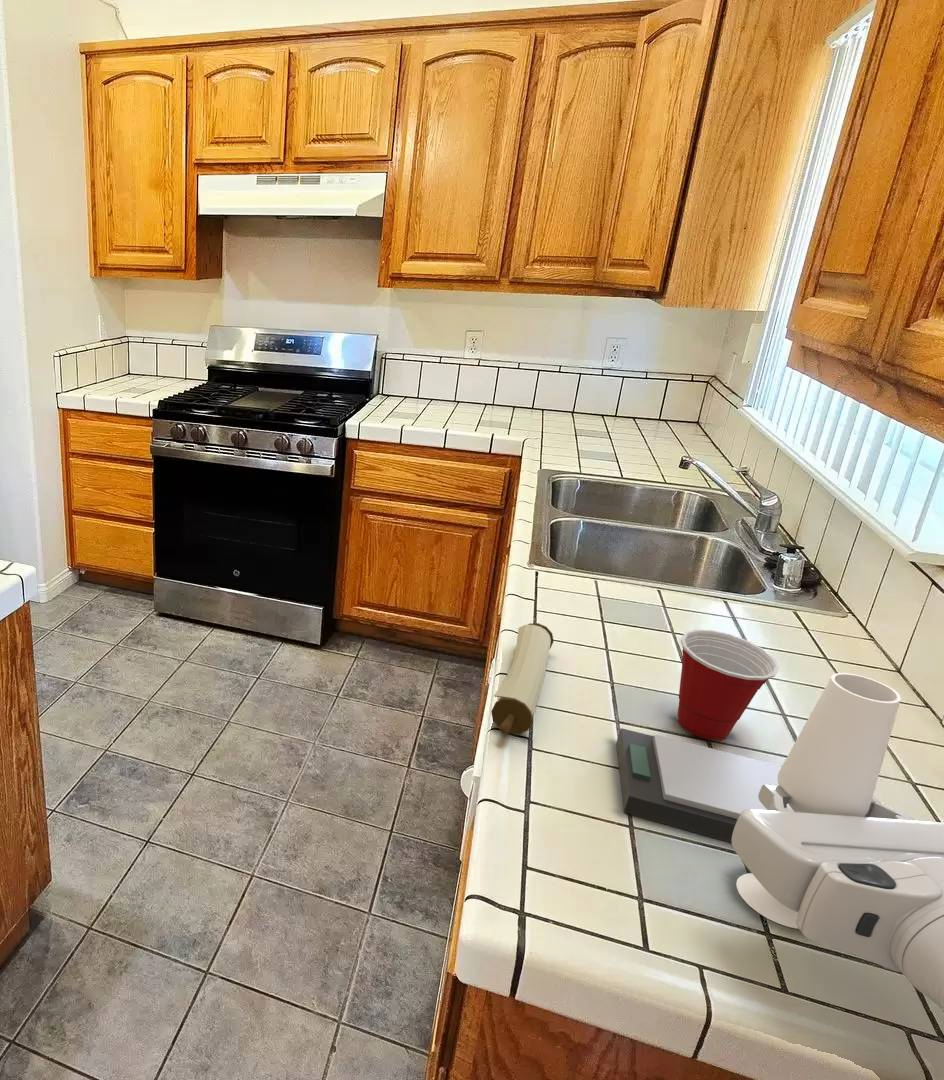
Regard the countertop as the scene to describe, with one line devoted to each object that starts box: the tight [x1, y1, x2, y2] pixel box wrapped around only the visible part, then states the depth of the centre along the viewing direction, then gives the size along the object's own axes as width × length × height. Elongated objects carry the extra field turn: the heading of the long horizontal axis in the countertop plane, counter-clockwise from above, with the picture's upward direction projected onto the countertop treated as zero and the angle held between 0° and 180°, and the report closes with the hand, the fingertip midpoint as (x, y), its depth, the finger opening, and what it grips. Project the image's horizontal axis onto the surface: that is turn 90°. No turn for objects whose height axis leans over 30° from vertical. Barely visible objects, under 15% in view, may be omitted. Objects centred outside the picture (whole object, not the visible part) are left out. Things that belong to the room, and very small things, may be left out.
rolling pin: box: [490, 622, 555, 735], centre depth 106 cm, size 32×6×5 cm, turn 151°
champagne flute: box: [735, 672, 902, 930], centre depth 69 cm, size 7×7×24 cm
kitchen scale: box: [616, 727, 792, 844], centre depth 86 cm, size 18×14×3 cm
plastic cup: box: [677, 628, 780, 741], centre depth 97 cm, size 11×11×12 cm
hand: (811, 794), depth 70 cm, fingers closed on champagne flute, 6 cm apart
